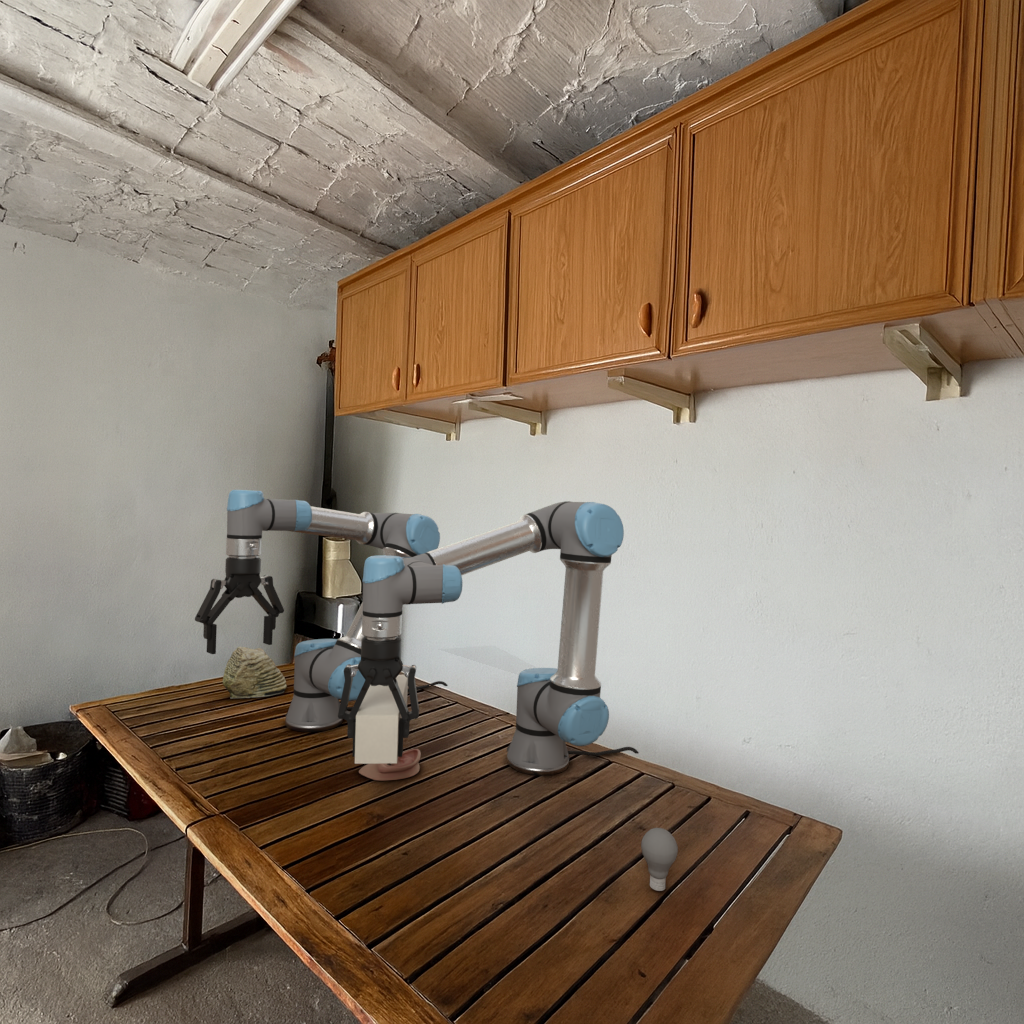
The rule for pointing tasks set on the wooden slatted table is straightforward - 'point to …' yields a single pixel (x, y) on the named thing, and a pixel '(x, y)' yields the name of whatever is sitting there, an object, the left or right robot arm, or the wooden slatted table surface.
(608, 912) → the wooden slatted table surface
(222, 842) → the wooden slatted table surface
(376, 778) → the anatomical model
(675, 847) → the light bulb
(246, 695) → the fossil
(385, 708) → the box
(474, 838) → the wooden slatted table surface
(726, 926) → the wooden slatted table surface
